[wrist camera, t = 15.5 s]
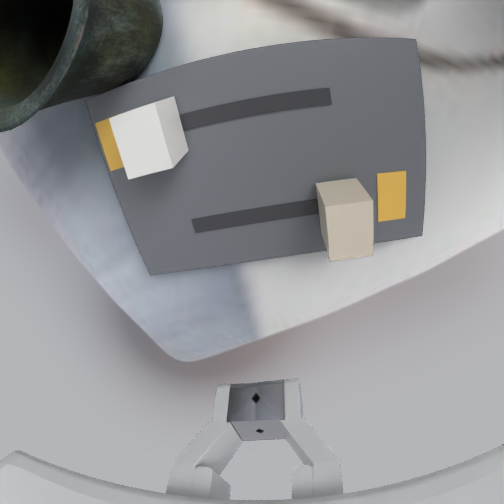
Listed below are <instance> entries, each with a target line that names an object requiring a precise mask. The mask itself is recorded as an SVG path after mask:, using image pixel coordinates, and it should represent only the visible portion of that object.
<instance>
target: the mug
mask: <svg viewBox="0 0 504 504" xmlns="http://www.w3.org/2000/svg"><path fill="white" fill-rule="evenodd" d="M162 25H163V15H162V8H161V4H160V2H159V0H0V132H3V131H7V130H11V129H13V128H15V127H17V126H19V125H21V124H23V123H24V122H26V121H27V120H28V119H30V118H31V117H32V116H34V115H35V114H36V113H37V112H38V111H39V110H42V109H45V108H48V107H51V106H55V105H58V104H61V103H65V102H68V101H72V100H75V99H79V98H83V97H87V96H91V95H95V94H99V93H103V92H107V91H110V90H112V89H114V88H117V87H119V86H122V85H125V84H126V83H128V82H129V81H130V80H132V79H133V78H134V77H135V76H137V75H138V74H139V73H140V72H141V71H142V70H143V68H144V67H145V66H146V65H147V64H148V62H149V60H150V59H151V57H152V56H153V54H154V52H155V50H156V48H157V46H158V43H159V40H160V37H161V31H162Z"/></svg>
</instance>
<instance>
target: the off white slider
mask: <svg viewBox="0 0 504 504" xmlns="http://www.w3.org/2000/svg"><path fill="white" fill-rule="evenodd" d="M109 121H110V124H111V127H112V131H113V134H114V137H115V140H116V144H117V147H118V150H119V153H120V156H121V159H122V162H123V165H124V168H125V171H126V174H127V177H128V180H129V179H133V178H136V177H140V176H144V175H148V174H151V173H155V172H159V171H163V170H167V169H171V168H174V166H175V165H176V164H177V163H178V162H179V161H180V160H181V159H182V157H183V156H184V155H185V154H186V153H187V152H188V151H189V150H188V146H187V142H186V139H185V135H184V131H183V128H182V124H181V120H180V116H179V113H178V109H177V105H176V101H175V97H174V96H173V97H170V98H166V99H163V100H160V101H156V102H153V103H150V104H147V105H144V106H141V107H138V108H135V109H132V110H130V111H127V112H124V113H122V114H119V115H117V116H114V117H112V118H109Z"/></svg>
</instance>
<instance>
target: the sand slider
mask: <svg viewBox="0 0 504 504" xmlns="http://www.w3.org/2000/svg"><path fill="white" fill-rule="evenodd" d="M316 190H317V198H318V207H319V216H320V225H321V233H322V236H323V240H324V243H325V247H326V250H327V254H328V257H329V261H330V262H333V261H340V260H346V259H353V258H359V257H366V256H372V255H373V236H374V224H373V200H372V198H371V197H370V195H369V194H368V193H367V191H366V190H365V189H364V187H363V186H362V185H361V183H360V182H359V181H358V179H357V178H351V179H343V180H336V181H328V182H321V183H316Z"/></svg>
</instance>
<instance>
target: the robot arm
mask: <svg viewBox="0 0 504 504" xmlns="http://www.w3.org/2000/svg"><path fill="white" fill-rule="evenodd" d="M274 439H286V440H287V441H288V443H289V444H290V446H291V447H292V448H293V450H294V451H295V452H296V454H297V455H298V457H299V458H300V459H301V461H302V462H303V463H304V465H299V466H295V467H294V468H293V469H292V499H287V500H230V485H229V484H228V483H227V482H226V481H225V480H224V479H222V478H221V477H220V476H219V475H220V474H221V472H222V471H223V470H224V468H225V467H226V465H227V464H228V462H229V461H230V460H231V458H232V457H233V455H234V454H235V452H236V451H237V450H238V448H239V447H240V445H241V444H242V443H243V442H242V441H252V440H253V441H254V440H274ZM340 462H341V461H340V459H339V458H338V457H337V455H336V454H335V453H334V452H333V451H332V450H331V449H330V447H329V446H328V445H327V444H326V443H325V442H324V440H323V439H322V438H321V437H320V436H319V435H318V433H317V432H316V431H315V430H314V429H313V427H312V426H311V425H310V424H309V422H308V421H307V420H306V419H305V418H303V407H302V398H301V390H300V384H299V379H298V378H296V379H287V380H276V381H266V382H257V383H242V384H220V385H218V386H217V388H216V395H215V402H214V409H213V417H212V422H208V423H207V424H206V425H205V426H204V428H203V429H202V430H201V431H200V432H199V433H198V434H197V435H196V437H195V438H194V439H193V440H192V441H191V442H190V443H189V445H188V446H187V447H186V448H185V449H184V450H183V451H182V452H181V453H180V454H179V455H178V457H177V458H176V459H175V460H174V461H173V462H172V463H171V468H170V474H169V479H168V484H167V490H166V493H159V492H153V491H148V490H143V489H138V488H133V487H128V486H124V485H119V484H115V483H111V482H107V481H104V480H100V479H96V478H92V477H89V476H86V475H83V474H80V473H77V472H73V471H71V470H67V469H65V468H62V467H59V466H56V465H54V464H51V463H48V462H46V461H43V460H41V459H38V458H36V457H33V456H31V455H29V454H26V453H24V452H22V451H14V452H12V453H10V454H9V455H8V456H6V457H5V458H4V459H3V460H1V461H0V504H504V444H503V445H501V446H499V447H497V448H495V449H492V450H490V451H488V452H486V453H483V454H481V455H479V456H477V457H474V458H472V459H469V460H467V461H464V462H462V463H459V464H456V465H454V466H452V467H448V468H446V469H443V470H440V471H437V472H434V473H431V474H428V475H424V476H421V477H417V478H414V479H410V480H407V481H403V482H399V483H395V484H391V485H387V486H383V487H378V488H373V489H368V490H363V491H357V492H351V493H345V494H343V484H342V472H341V463H340Z"/></svg>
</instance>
